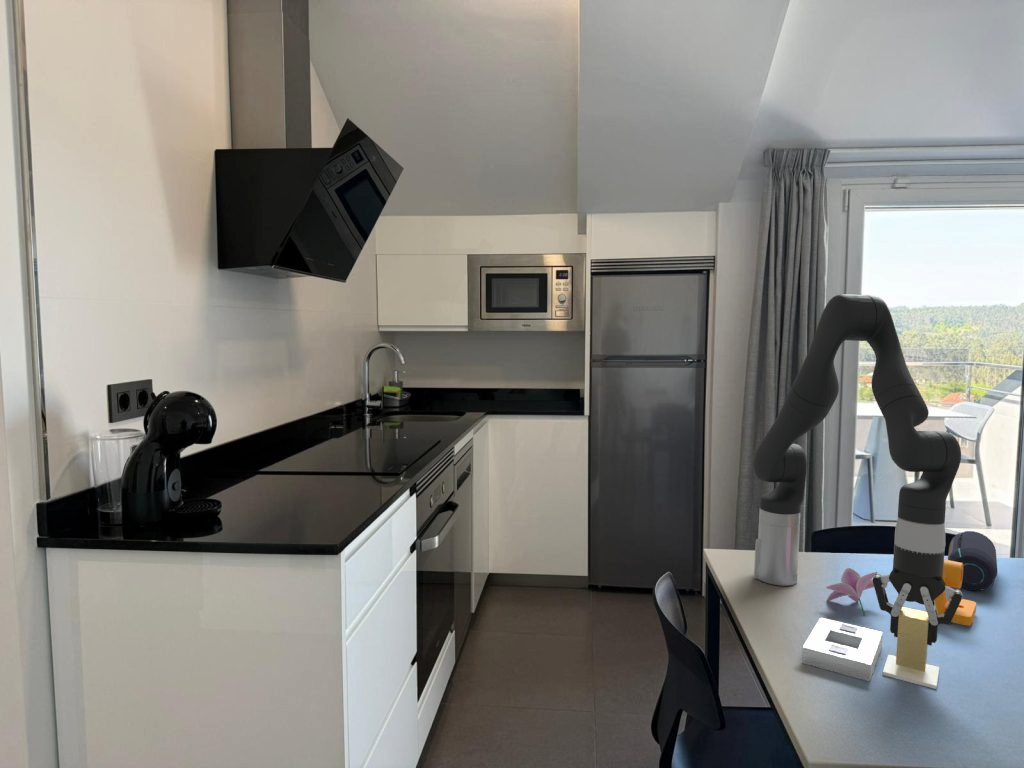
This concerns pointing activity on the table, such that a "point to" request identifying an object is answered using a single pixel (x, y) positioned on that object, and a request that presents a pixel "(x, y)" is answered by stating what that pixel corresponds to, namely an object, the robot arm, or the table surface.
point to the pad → (912, 673)
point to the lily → (851, 586)
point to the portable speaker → (974, 559)
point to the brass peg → (912, 639)
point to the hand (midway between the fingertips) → (913, 639)
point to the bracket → (954, 579)
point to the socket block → (843, 648)
